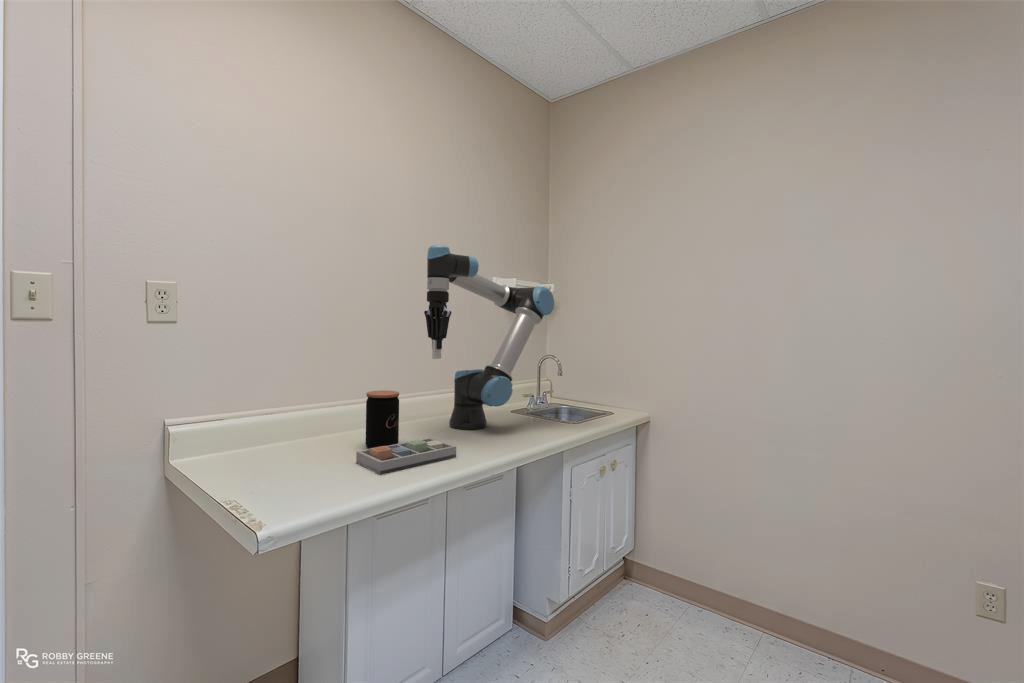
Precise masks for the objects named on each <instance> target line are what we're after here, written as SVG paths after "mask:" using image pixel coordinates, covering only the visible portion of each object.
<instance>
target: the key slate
mask: <svg viewBox="0 0 1024 683" xmlns="http://www.w3.org/2000/svg"><path fill="white" fill-rule="evenodd" d="M392 453H395V454H397V455H399V456H402V457H403V456H408V455H410V449H407V448H404V447H397V448H392Z"/></svg>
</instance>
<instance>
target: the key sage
mask: <svg viewBox="0 0 1024 683" xmlns="http://www.w3.org/2000/svg"><path fill="white" fill-rule="evenodd" d="M405 442H406V448H409V449H411V450H414V451H416V452H420V451H425V450H427V442H425V441H422V440H421V439H414V440H407V441H405Z"/></svg>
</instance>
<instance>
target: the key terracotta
mask: <svg viewBox="0 0 1024 683" xmlns="http://www.w3.org/2000/svg"><path fill="white" fill-rule="evenodd" d="M369 449H370V456H372V457H374V458H377V459H379V460H381V459H386V458H391V457H392V449H391V448H388V447H386V446H380V447H375V448H369Z"/></svg>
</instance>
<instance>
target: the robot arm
mask: <svg viewBox="0 0 1024 683" xmlns="http://www.w3.org/2000/svg"><path fill="white" fill-rule="evenodd" d="M426 256H427V258H426V259H427V266H426V267H427V270H426V271H427V274H426V275H427V277H426V278H427V280H426V281H427V282H426V284H427V285H426V289H427V291H426V301H427V302H428V303H429V304H428V309H427V310H424V316H425V321H426V331H427V337H428V338H430V339H431V350H432V353H431V355H432V357H431V358H432V359H433V360H438V359H442V349H443V341H444V339H447V335H448V330H449V323H450V318H451V315H452V311H451V310H449V309H448V305H447V303H449V301H450V300H449V299H450V298H449V297H450V295H449V294H450V292H449V290H450V284H453V285H455V286H458V287H460V288H462V289H464V290H466V291H469V292H471V293H473V294H475V295H478V296H479V297H483V298H484V299H486V300H489V301H491V302H493V303H494V305H495V306H496V307H499V308H500V309H503V310H505V311H507V312H511V313H512V314H515V315H516V316H515V318H514V320H513V322H512V323H511V325H510V327H509V329H508V331H507V334H506V335H505V337H504V339H503V341H502V343H501V344H500V346H499V349H498V351H497V353H496V355H495V356H494V359H493V361H492V362H491V363H490V364H488V365H485V367H484V369H482V368H481V369H467V370H466V369H463V370H456V371H455V373H454V380H453V381H454V390H453V391H454V397H453V399H454V400H453V401H454V403H453V409H452V412H451V416H450V418H449V422H448V423H449V424H448V425H449V427H450V428H452V429H456V430H466V431H468V430H480V429H484V428H486V427H487V425H488V424H487V419H486V414H485V410H484V406H483V405H486V406H487V407H488V406H489V407H501V406H504V405H505V404H507V403H508V401H510V398H511V397H512V394H513V390H514V389H513V383H512V381H513V377H512V372H513V370H514V369H515V367H516V364H517V362H518V360H519V358H520V356H521V354H522V352H523V350H524V348H525V346H526V345H527V342H528V340H529V338H530V336H531V334H532V332H533V330H534V329H535V326H536V325H539V324H540V323H541V322H542V320H543V318H544V317H545V316H549V315H550V314H551V313H552V312H553V311H554V309H555V299H554V295H553V293H552V291H551V290H550V289H549V288H547V287H545V286H540V285H539V286H538V285H537V286H533V287H532V286H531V287H512V286H511V287H510V286H509V285H507V284H499V283H497V282H494V281H493V280H490V279H489V278H486V277H484V276H482V275H480V274H478V271H479V266H480V265H479V261H478V259H477V258H476V257H474V256H470V255H463V254H455V253H451V250H450V247H449V246H446V245H438V244H437V245H435V244H434V245H430V246H429V247H428V249H427V255H426Z"/></svg>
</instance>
